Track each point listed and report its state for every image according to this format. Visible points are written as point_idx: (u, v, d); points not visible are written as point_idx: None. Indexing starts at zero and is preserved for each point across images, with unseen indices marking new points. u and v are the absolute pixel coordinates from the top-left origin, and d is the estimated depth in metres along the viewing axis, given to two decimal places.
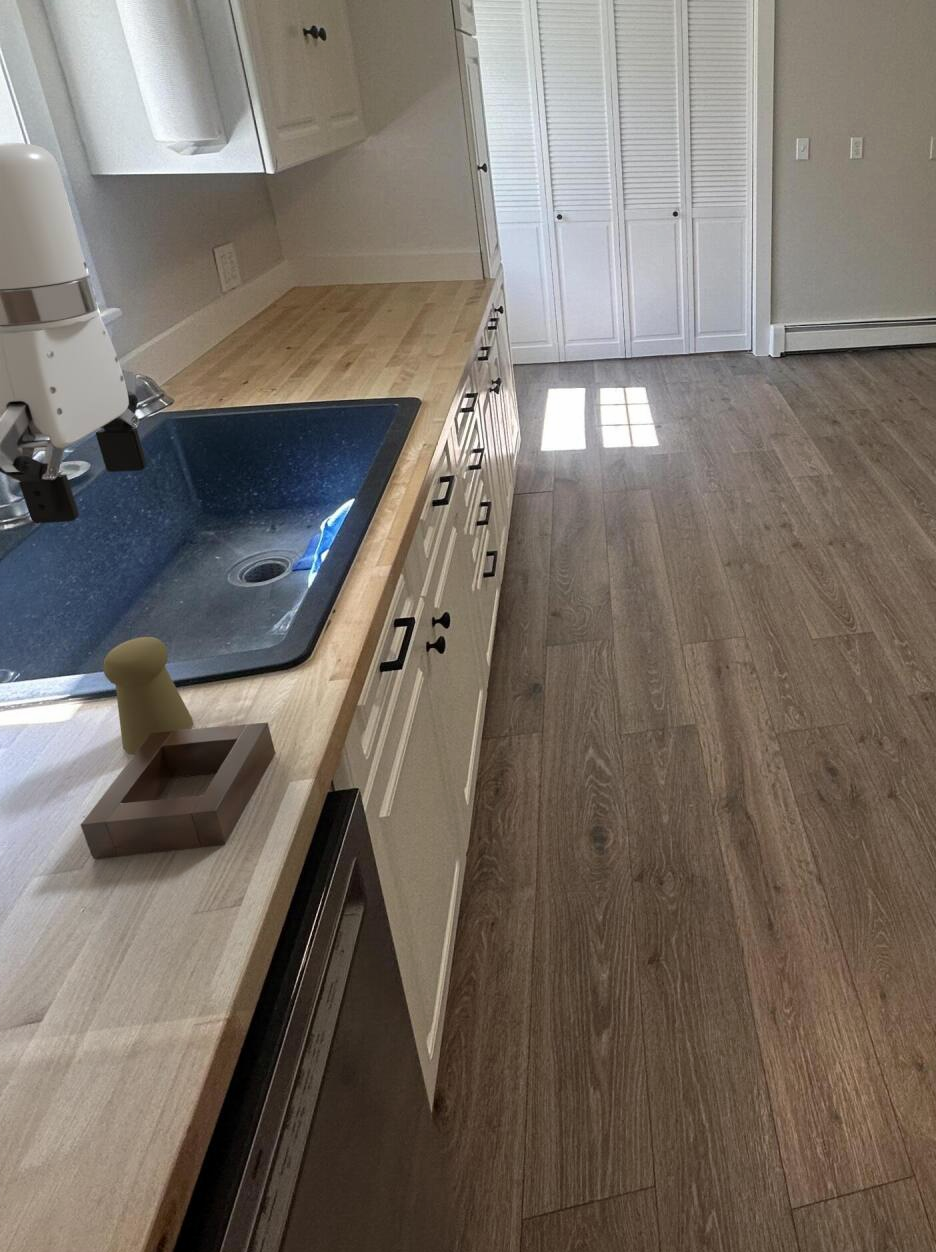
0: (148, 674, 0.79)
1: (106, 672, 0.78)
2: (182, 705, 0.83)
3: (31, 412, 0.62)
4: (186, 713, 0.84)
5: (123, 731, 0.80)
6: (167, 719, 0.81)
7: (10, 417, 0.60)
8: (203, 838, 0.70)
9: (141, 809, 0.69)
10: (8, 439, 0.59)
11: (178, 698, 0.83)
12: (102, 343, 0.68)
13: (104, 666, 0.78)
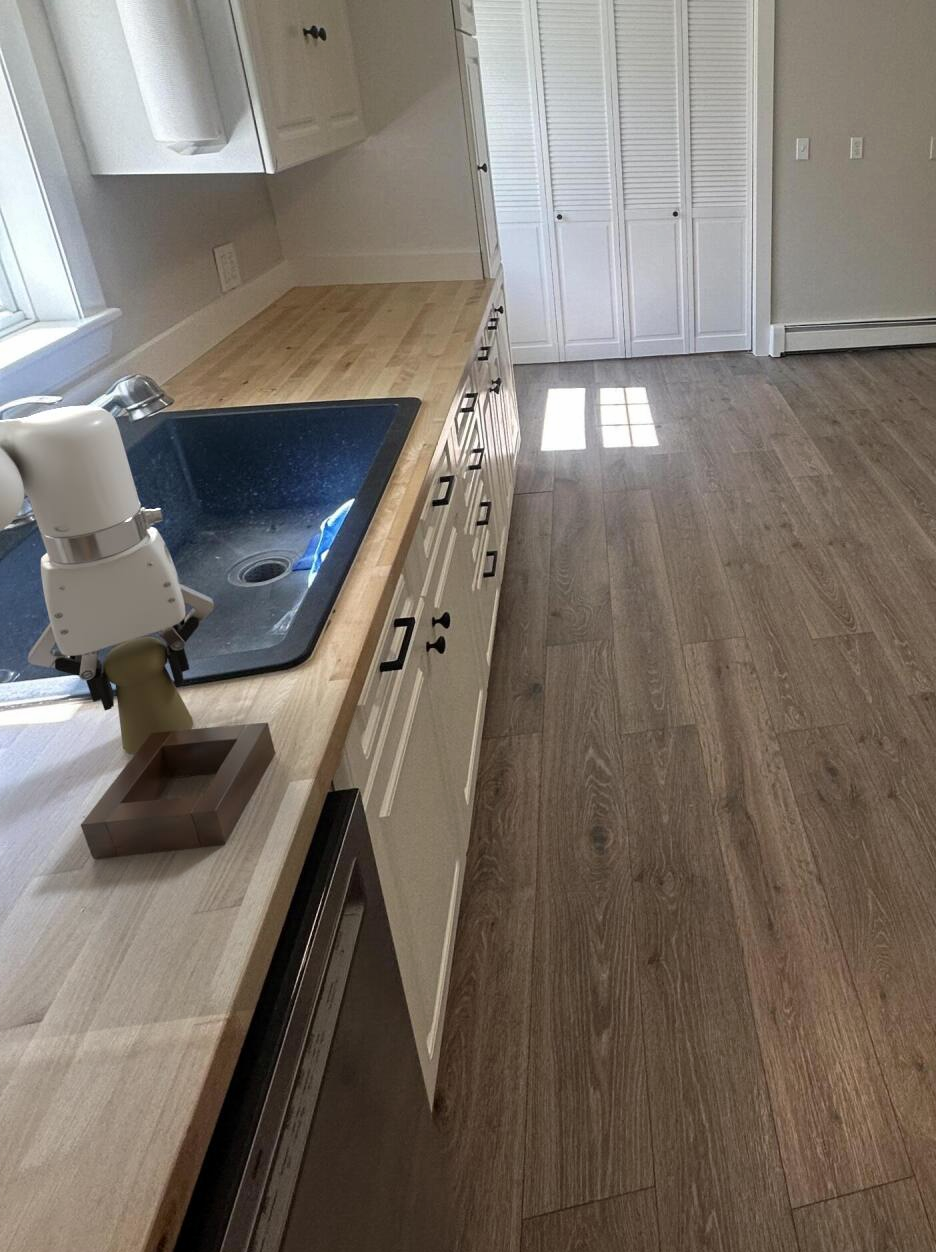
0: (148, 674, 0.79)
1: (106, 672, 0.78)
2: (182, 705, 0.83)
3: None
4: (186, 713, 0.84)
5: (123, 731, 0.80)
6: (167, 719, 0.81)
7: (45, 632, 0.75)
8: (203, 838, 0.70)
9: (141, 809, 0.69)
10: (38, 653, 0.74)
11: (178, 698, 0.83)
12: (143, 574, 0.76)
13: (104, 666, 0.78)
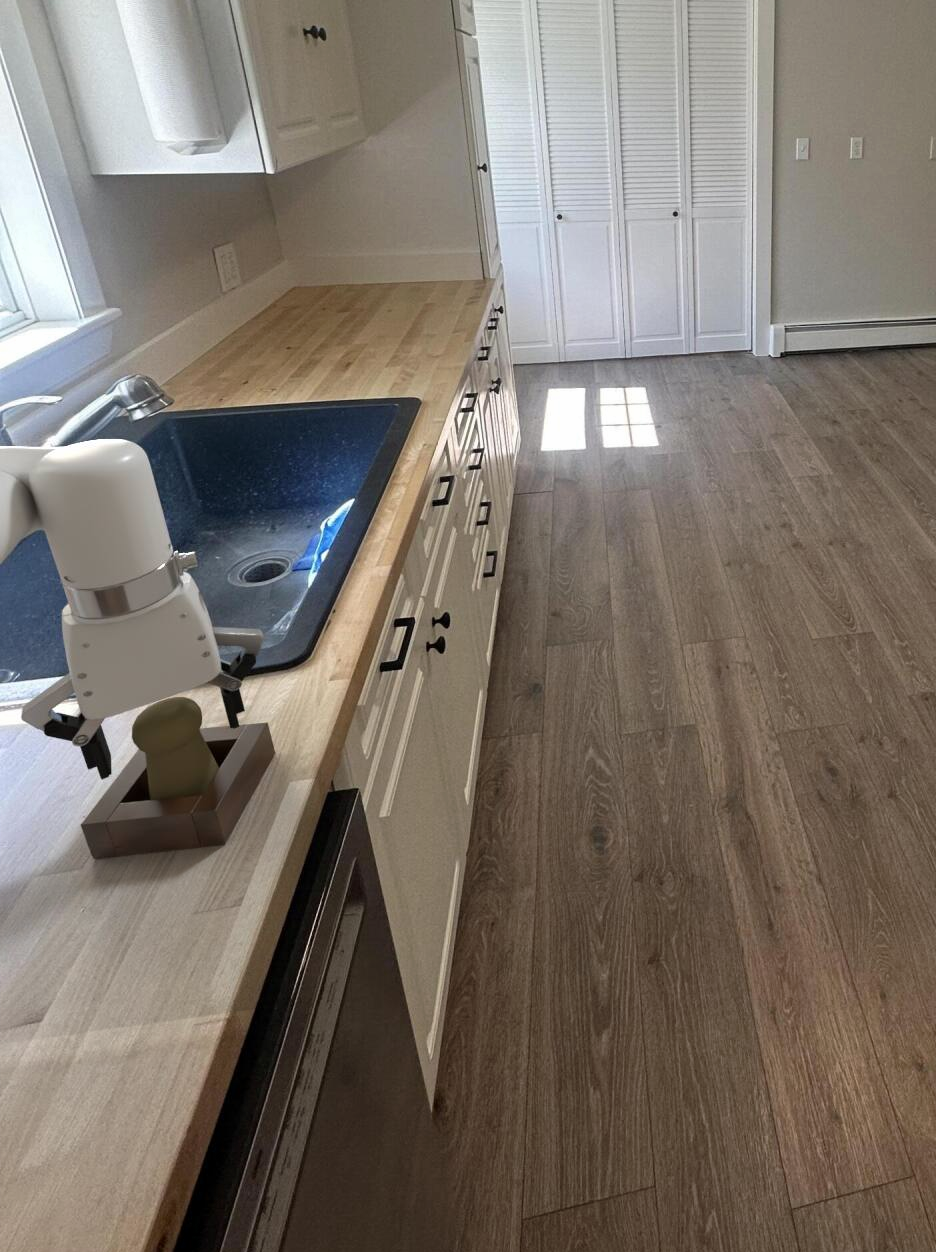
0: (182, 741, 0.71)
1: (135, 739, 0.69)
2: (217, 771, 0.75)
3: None
4: None
5: None
6: (202, 788, 0.73)
7: (55, 686, 0.66)
8: (203, 838, 0.70)
9: (141, 809, 0.69)
10: (36, 709, 0.65)
11: (213, 764, 0.75)
12: (175, 627, 0.68)
13: (133, 732, 0.70)
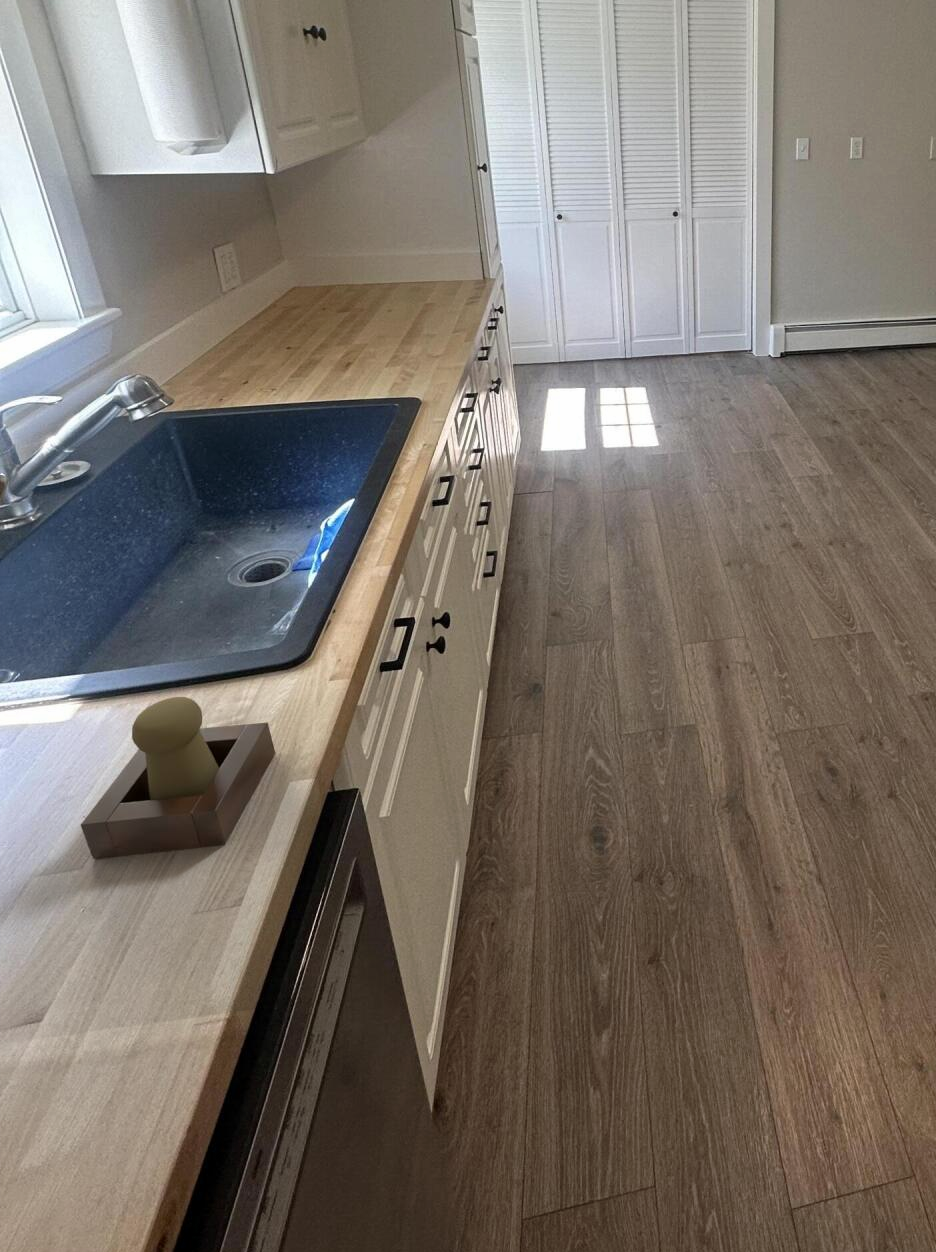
0: (182, 741, 0.71)
1: (135, 739, 0.70)
2: (217, 771, 0.75)
3: None
4: None
5: None
6: (202, 788, 0.73)
7: None
8: (203, 838, 0.70)
9: (141, 809, 0.69)
10: None
11: (213, 764, 0.75)
12: None
13: (133, 732, 0.70)
